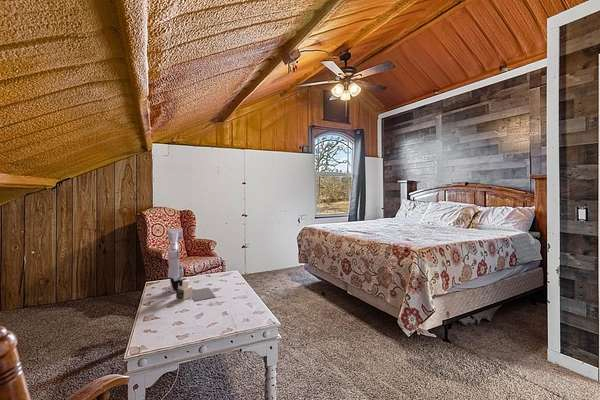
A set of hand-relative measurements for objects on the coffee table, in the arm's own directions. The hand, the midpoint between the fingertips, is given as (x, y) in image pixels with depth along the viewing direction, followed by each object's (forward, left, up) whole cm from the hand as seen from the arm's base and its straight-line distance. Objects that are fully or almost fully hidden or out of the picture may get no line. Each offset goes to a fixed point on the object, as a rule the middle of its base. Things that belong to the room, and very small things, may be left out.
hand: (174, 288), depth 182 cm
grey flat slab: (+3, +17, -6) cm, 18 cm away
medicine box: (+3, +5, -6) cm, 9 cm away
